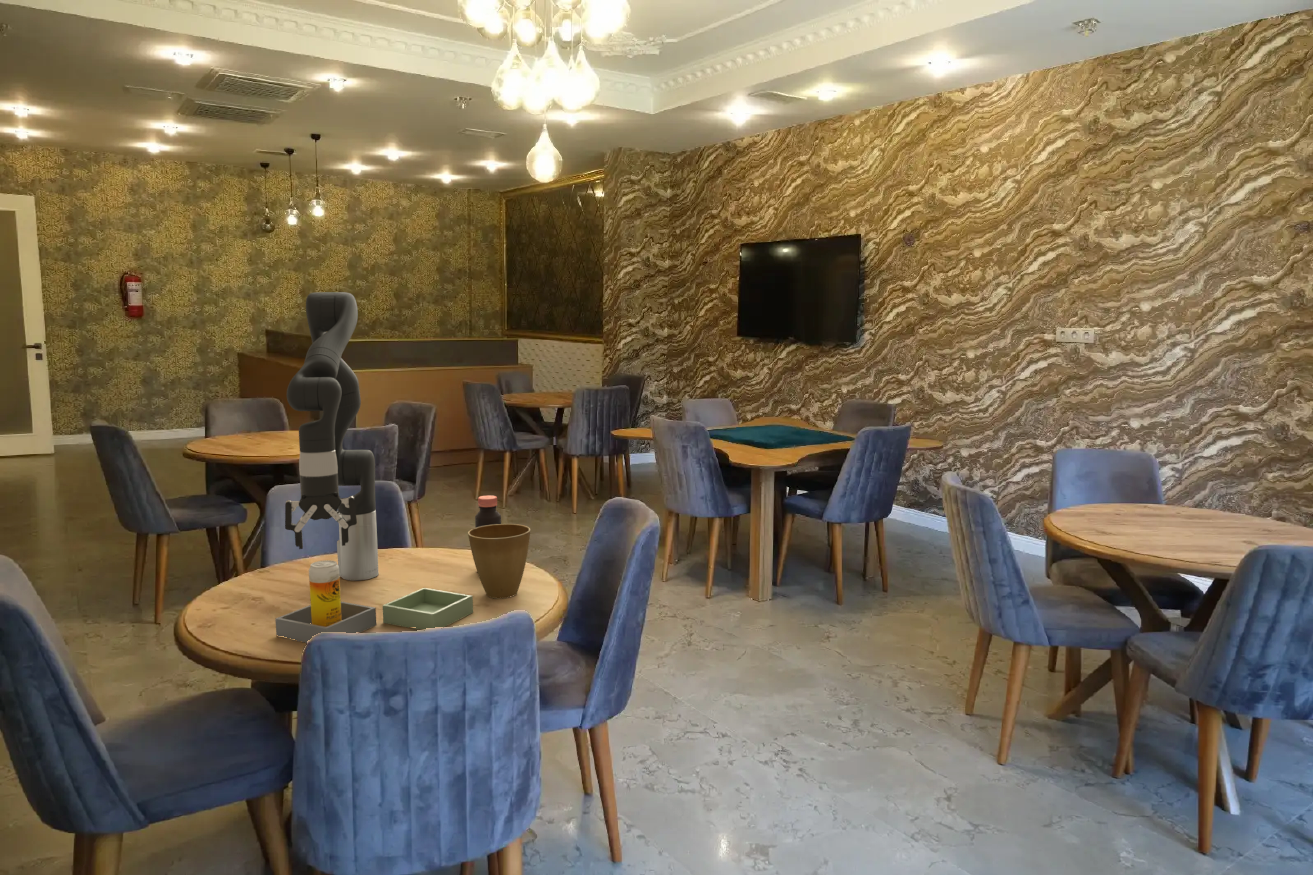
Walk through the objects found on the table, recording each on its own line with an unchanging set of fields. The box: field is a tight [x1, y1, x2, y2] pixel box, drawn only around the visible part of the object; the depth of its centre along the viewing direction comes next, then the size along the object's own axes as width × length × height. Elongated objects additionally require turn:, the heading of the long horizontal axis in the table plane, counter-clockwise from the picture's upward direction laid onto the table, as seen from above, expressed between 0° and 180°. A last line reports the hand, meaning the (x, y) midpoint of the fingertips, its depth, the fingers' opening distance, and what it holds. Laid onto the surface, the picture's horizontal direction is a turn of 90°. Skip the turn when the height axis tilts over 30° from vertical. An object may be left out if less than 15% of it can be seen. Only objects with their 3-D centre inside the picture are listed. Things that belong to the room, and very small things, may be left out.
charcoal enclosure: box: [275, 601, 377, 644], centre depth 193 cm, size 14×14×4 cm
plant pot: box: [467, 523, 531, 599], centre depth 217 cm, size 15×15×16 cm
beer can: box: [308, 559, 342, 627], centre depth 192 cm, size 6×6×15 cm
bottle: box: [474, 494, 502, 528], centre depth 236 cm, size 7×7×20 cm
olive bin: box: [382, 587, 474, 630], centre depth 201 cm, size 14×14×4 cm
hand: (322, 546), depth 190 cm, fingers open, 8 cm apart
